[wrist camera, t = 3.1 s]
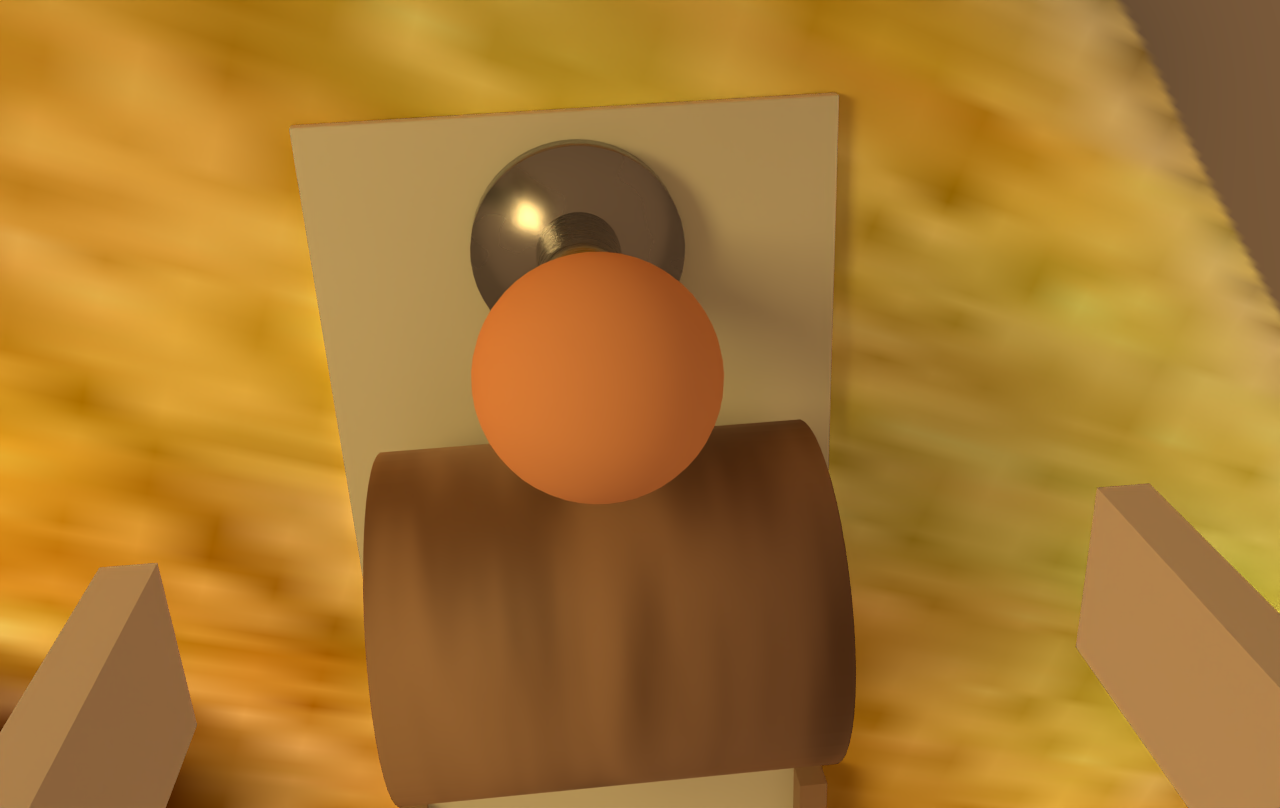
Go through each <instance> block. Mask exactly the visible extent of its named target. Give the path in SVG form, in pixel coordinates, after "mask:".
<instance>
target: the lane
mask: <svg viewBox="0 0 1280 808" xmlns="http://www.w3.org/2000/svg"><path fill="white" fill-rule="evenodd" d="M838 115H839V95H838V94H837V93H818V94H802V95H785V96H769V97H752V98H736V99H719V100H703V101H686V102H669V103H653V104H636V105H620V106H603V107H587V108H570V109H554V110H537V111H520V112H504V113H487V114H471V115H454V116H438V117H421V118H405V119H388V120H371V121H355V122H338V123H322V124H305V125H292V126H291V127H290V128H289V131H290V137H291V143H292V150H293V156H294V162H295V168H296V174H297V180H298V186H299V192H300V198H301V204H302V210H303V216H304V222H305V229H306V235H307V241H308V247H309V253H310V259H311V265H312V271H313V277H314V283H315V289H316V295H317V302H318V308H319V314H320V320H321V326H322V332H323V338H324V344H325V350H326V356H327V362H328V368H329V374H330V381H331V387H332V393H333V399H334V405H335V411H336V417H337V423H338V429H339V435H340V441H341V447H342V453H343V460H344V466H345V472H346V478H347V484H348V490H349V496H350V502H351V508H352V514H353V520H354V526H355V532H356V539H357V545H358V551H359V557H360V563H361V569H362V575H363V543H364V522H365V509H366V498H367V491H368V484H369V478H370V473H371V469H372V466H373V462H374V460H375V458H376V456H377V455H378V454H379V453H380V452H392V451H405V450H418V449H430V448H443V447H456V446H468V445H481V444H489V442H488V440H487V438H486V436H485V434H484V432H483V430H482V428H481V425H480V423H479V420H478V417H477V414H476V411H475V407H474V401H473V396H472V383H471V369H472V359H473V354H474V350H475V346H476V342H477V339H478V335H479V333H480V330H481V328H482V326H483V323H484V321H485V319H486V318H487V316H488V314H489V312H490V309H489V308H488V306H487V305H486V303H485V302H484V300H483V298H482V296H481V294H480V292H479V290H478V288H477V285H476V282H475V279H474V276H473V272H472V266H471V258H470V243H471V233H472V224H473V220H474V216H475V212H476V209H477V207H478V204H479V202H480V199H481V197H482V195H483V194H484V192H485V190H486V188H487V187H488V185H489V184H490V183H491V181H492V180H493V179H494V177H495V176H496V175H497V174H498V173H499V172H500V171H501V170H502V169H503V168H504V167H505V166H506V165H507V164H508V163H510V162H511V161H512V160H514V159H515V158H516V157H518V156H520V155H521V154H523V153H525V152H527V151H528V150H530V149H533V148H535V147H538V146H540V145H543V144H547V143H550V142H554V141H560V140H568V139H586V140H594V141H600V142H603V143H607V144H611V145H614V146H616V147H618V148H621V149H623V150H625V151H627V152H629V153H631V154H632V155H634V156H636V157H637V158H639V159H640V160H641V161H642V162H644V163H645V164H646V165H648V166H649V167H650V168H651V169H652V170H653V171H654V173H655V174H656V175H657V176H658V177H659V178H660V180H661V181H662V182H663V184H664V185H665V186H666V188H667V190H668V192H669V194H670V195H671V197H672V199H673V201H674V204H675V206H676V208H677V211H678V213H679V216H680V219H681V222H682V227H683V231H684V239H685V260H684V265H683V271H682V275H681V278H680V281H679V282H680V283H682V284H683V285H684V286H685V287H686V288H687V289H688V290H689V291H690V292H691V293H692V294H693V296H694V297H695V298H696V300H697V301H698V302H699V304H700V305H701V306H702V308H703V309H704V311H705V313H706V314H707V316H708V318H709V320H710V321H711V323H712V325H713V328H714V330H715V333H716V335H717V338H718V342H719V346H720V350H721V355H722V359H723V368H724V386H723V397H722V402H721V407H720V412H719V415H718V418H717V420H716V423H715V426H722V425H734V424H747V423H760V422H772V421H785V420H798V419H801V420H802V421H804V422H806V424H807V425H808V426H809V427H810V428H811V430H812V432H813V433H814V435H815V437H816V439H817V441H818V443H819V446H820V448H821V451H822V453H823V456H824V459H825V462H826V465H827V468H828V470H829V434H830V399H831V363H832V328H833V292H834V257H835V222H836V186H837V151H838ZM826 806H827V781H826V778H825V775H824V772H823V769H822V766H821V765H820V766H809V767H799V768H789V769H779V770H769V771H759V772H749V773H739V774H729V775H718V776H708V777H698V778H688V779H678V780H668V781H658V782H648V783H638V784H627V785H617V786H607V787H597V788H587V789H577V790H567V791H557V792H547V793H536V794H526V795H516V796H506V797H496V798H486V799H476V800H466V801H456V802H445V803H435V804H425V805H415V806H405V807H400V808H826Z"/></svg>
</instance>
